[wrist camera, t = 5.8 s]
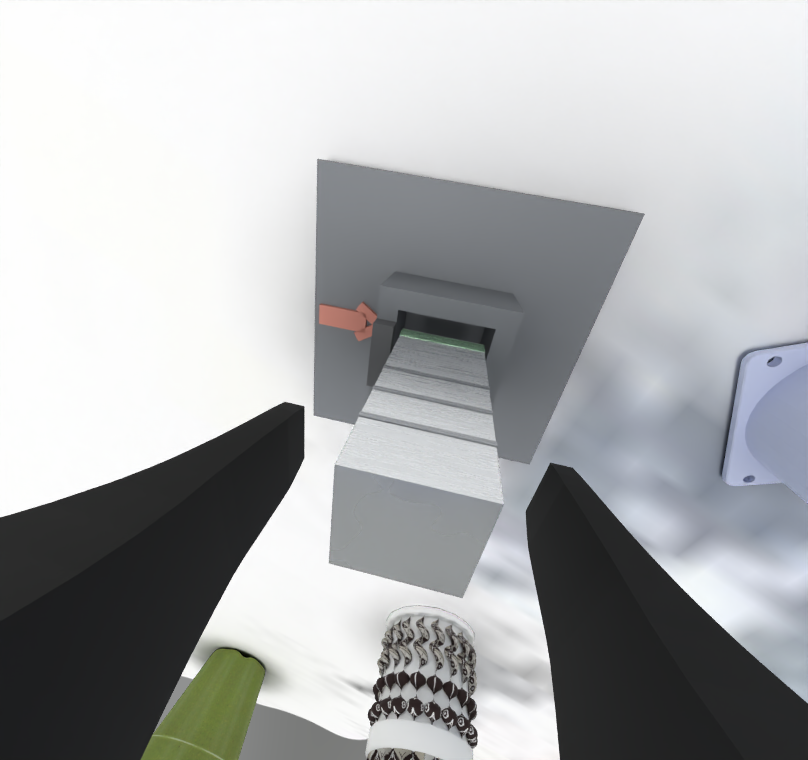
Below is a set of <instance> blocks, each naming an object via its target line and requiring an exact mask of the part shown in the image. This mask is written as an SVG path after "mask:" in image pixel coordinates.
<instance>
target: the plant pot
mask: <svg viewBox="0 0 808 760" xmlns="http://www.w3.org/2000/svg"><path fill="white" fill-rule="evenodd" d="M264 675H265V670H264V668H263V666H262V665H260V664H259V662H258V661H257V660H256V659H254V658H251V657H249V658H245V657H243V656H242V655H241V653H240V652H238V651H237V650H234V649H225V648H222V649H218V650H216V651H215V652H214V653H213V654H212V655H211V656H210V658H209V659H208V660H207V662H206V663H205V664H204V666H203V667H202V668H201V670H200V671H199V673H198V674H197V675H196V677H195V678H194V679H193V681H192V682H191V683H190V685H189V686H188V688H187V689H186V690H185V692H184V693H183V694H182V696H181V697H180V698H179V700H178V701H177V702H176V704H175V705H174V707H173V708H172V709H171V711H170V712H169V713H168V715H167V716H166V717H165V719H164V720H163V722H162V723H161V724H160V726H159V727H158V728H157V729H156V731H155V732H154V733H153V735H152V737H151V739H150V741H149V743H148V745H147V747H146V750H145V752H144V754H143V756H142V758H141V760H238V759H239V755H240V752H241V749H242V745H243V742H244V739H245V736H246V733H247V729H248V726H249V723H250V720H251V717H252V714H253V710H254V707H255V704H256V701H257V698H258V694H259V691H260V688H261V685H262V682H263V678H264Z"/></svg>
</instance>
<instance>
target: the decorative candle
mask: <svg viewBox="0 0 808 760" xmlns="http://www.w3.org/2000/svg"><path fill="white" fill-rule="evenodd" d="M386 626H387V631H386V633H385V637H386V638H384V639H382V645H383V647H384V649H383V652H382V653H381V658H380V659H379V660H378V663H377V664H378V667H379V669H380V670H379V673H380V675H381V678H379V679H378V680H377V682H376V684H375V685H374V687H373V692H374V694H375V699H376V701H377V702H375V703H374V704H373V705H372V708H371V709H370V710H369V712H368V718H369V720H370V725H371V727H370V731H369V736H368V742H367V747H366V753H365V754H366V757H367V760H473V748H475V747H476V746H477V742H478V741H477V730H476V729H475V727H474V726H473V725H471V724H470V722H471V720H473V719H475V718H476V715H477V711H476V708H477V705H476V703H475V701H474V700H473V699H471V698H470V696H471V695H472V694H473V693H474V692H475V690H476V686H477V682H476V679H477V678H476V673H475V671H474V668H475V665H476V653H475V651H474V649H473V647H474V632H473V631H472V629H471V628H470V626H469V625H468V623H466V622H465V621H463V620H462V619H461V618H459V617H458V616H456V615H455V614H452V613H449V612H447V611H444V610H441V609H438V608H433V607H425V606H410V607H402V608H400V609H398V610H396V611H394V612H392V613H391V614H390V616H389V617H388V619H387V621H386Z"/></svg>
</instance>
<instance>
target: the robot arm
mask: <svg viewBox="0 0 808 760" xmlns="http://www.w3.org/2000/svg"><path fill="white" fill-rule="evenodd" d="M772 357H775V358H774V359H773V360H772V361H771V362H769V363H767V362H768V360H769V359H771V358H772ZM303 460H304V406H300V405H296V404H292V403H287V402H284V403H282V404H280V405H277V406H276V407H274V408H272V409H270V410H268V411H266V412H264V413H262V414H260V415H258V416H257V417H255V418H253V419H251V420H249V421H247V422H245V423H243V424H241V425H240V426H238V427H236V428H234V429H232V430H230V431H228V432H226V433H224V434H222V435H220V436H218V437H216V438H214V439H212V440H210V441H208V442H206V443H204V444H201V445H199V446H197V447H195V448H193V449H191V450H189V451H187V452H184V453H182V454H180V455H178V456H176V457H174V458H171V459H169V460H167V461H164V462H162V463H160V464H157V465H155V466H152V467H150V468H147V469H145V470H142V471H140V472H137V473H135V474H132V475H129V476H127V477H124V478H122V479H119V480H116V481H114V482H111V483H108V484H105V485H102V486H99V487H96V488H93V489H90V490H87V491H84V492H81V493H78V494H75V495H72V496H69V497H66V498H63V499H60V500H57V501H54V502H51V503H48V504H45V505H41V506H38V507H35V508H31V509H28V510H25V511H21V512H18V513H15V514H11V515H8V516H4V517H0V760H141V758H142V756H143V754H144V752H145V750H146V747H147V745H148V743H149V741H150V739H151V737H152V735H153V732H154V730H155V728H156V726H157V724H158V722H159V719H160V717H161V715H162V713H163V711H164V709H165V707H166V705H167V703H168V701H169V699H170V697H171V695H172V693H173V691H174V689H175V687H176V685H177V682H178V681H179V678H180V676H181V674H182V672H183V670H184V668H185V666H186V664H187V662H188V660H189V658H190V656H191V654H192V652H193V650H194V649H195V647H196V645H197V643H198V641H199V639H200V637H201V635H202V633H203V631H204V629H205V627H206V625H207V623H208V621H209V619H210V618H211V616H212V614H213V612H214V610H215V608H216V606H217V604H218V603H219V601H220V599H221V597H222V595H223V593H224V591H225V590H226V588H227V586H228V584H229V582H230V580H231V578H232V577H233V575H234V573H235V572H236V570H237V568H238V567H239V565H240V563H241V562H242V560H243V558H244V557H245V555H246V554H247V552H248V551H249V549H250V548H251V546H252V545H253V543H254V542H255V540H256V539H257V537H258V536H259V534H260V533H261V531H262V530H263V528H264V527H265V525H266V524H267V522H268V520H269V519H270V517H271V516H272V514H273V513H274V511H275V510H276V508H277V507H278V505H279V504H280V502H281V501H282V499H283V498H284V496H285V494H286V493H287V491H288V490H289V488H290V486H291V484H292V482H293V480H294V478H295V476H296V474H297V472H298V470H299V468H300V466H301V464H302V462H303ZM722 479H723V480H724V481H725V482H726V483H727V484H728V485H731V486H744V485H759V484H773V483H784V484H785V485H786V486H787V487H789V488H790V489H791V490H792V491H793V492H794V493H795V494H797V495H798V496H799V497H800V498H801V499H802V500H803V501H805V502H806V503H807V504H808V343H802V344H796V345H790V346H783V347H777V348H771V349H765V350H758V351H754V352H751V353H749V354H747V355H746V356H745V357H744V358H743V359H742V362H741V366H740V372H739V378H738V384H737V390H736V395H735V401H734V407H733V413H732V419H731V425H730V431H729V437H728V443H727V449H726V455H725V460H724V466H723V472H722ZM526 525H527V539H528V549H529V554H530V560H531V565H532V570H533V575H534V580H535V585H536V590H537V595H538V600H539V605H540V610H541V615H542V620H543V625H544V630H545V634H546V640H547V646H548V652H549V658H550V665H551V674H552V683H553V692H554V701H555V710H556V720H557V731H558V742H559V753H560V760H808V703H806V702H805V701H804V700H803V699H802V698H801V697H800V696H798V695H797V694H796V693H795V692H794V691H793V690H791V689H790V688H789V687H788V686H787V685H786V684H785V683H783V682H782V681H781V680H780V679H779V678H778V677H776V676H775V675H774V674H773V673H772V672H771V671H770V670H768V669H767V668H766V667H765V666H764V665H763V664H762V663H760V662H759V661H758V660H757V659H756V658H755V657H754V656H753V655H752V654H750V653H749V652H748V651H747V650H746V649H745V648H744V647H743V646H742V645H740V644H739V643H738V642H737V641H736V640H735V639H734V638H733V637H732V636H731V635H730V634H729V633H728V632H727V631H725V630H724V629H723V628H722V627H721V626H720V625H719V624H718V623H717V622H716V621H715V620H714V619H713V618H712V617H711V616H710V615H709V614H708V613H706V612H705V611H704V610H703V609H702V608H701V607H700V606H699V605H698V604H697V603H696V602H695V601H694V600H693V599H692V598H691V597H690V596H689V595H688V594H687V593H686V592H685V591H684V590H683V589H682V588H681V587H680V586H679V585H678V584H677V583H676V582H675V581H674V580H673V579H672V578H671V577H670V576H669V575H668V574H667V572H666V571H665V570H664V569H663V568H662V567H661V566H660V565H659V564H658V563H657V562H656V561H655V560H654V559H653V558H652V557H651V556H650V555H649V553H648V552H647V551H646V550H645V549H644V548H643V547H642V546H641V545H640V544H639V543H638V541H637V540H636V539H635V538H634V537H633V536H632V535H631V534H630V533H629V531H628V530H627V529H626V528H625V527H624V526H623V525H622V523H621V522H620V521H619V520H618V519H617V518H616V517H615V515H614V514H613V513H612V512H611V511H610V510H609V508H608V507H607V506H606V505H605V504H604V503H603V502H602V500H601V499H600V498H599V497H598V496H597V495H596V493H595V492H594V491H593V490H592V489H591V488H590V486H589V485H588V484H587V483H586V482H585V481H584V480H583V478H582V477H581V476H580V475H579V474H578V473H577V472H576V471H575V470H574V469H573V468H571V467H567V466H562V465H558V464H554V463H550V465H549V467H548V469H547V471H546V473H545V475H544V477H543V478H542V480H541V482H540V484H539V486H538V488H537V490H536V492H535V494H534V496H533V498H532V500H531V502H530V504H529V506H528V508H527V510H526Z"/></svg>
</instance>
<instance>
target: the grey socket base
mask: <svg viewBox="0 0 808 760" xmlns="http://www.w3.org/2000/svg"><path fill="white" fill-rule="evenodd" d="M643 216H644V214H643V213H637V212H631V211H625V210H619V209H613V208H607V207H601V206H595V205H589V204H583V203H577V202H571V201H565V200H559V199H553V198H547V197H541V196H535V195H529V194H523V193H518V192H512V191H506V190H500V189H494V188H488V187H482V186H476V185H470V184H464V183H458V182H452V181H446V180H440V179H434V178H428V177H422V176H416V175H410V174H404V173H398V172H392V171H386V170H380V169H374V168H368V167H362V166H356V165H350V164H344V163H338V162H332V161H326V160H321V159H317V224H316V291H315V359H314V416H319V417H323V418H328V419H332V420H336V421H341V422H345V423H350V424H354V425H355V423H356V421H357V419H358V415H359V413H360V411H362V409H363V407H364V405H365V403H366V401H367V399H368V397H369V395H370V393H371V391H372V387H373V385H375V384H376V382H377V380H378V378H379V376H380V374H381V372H382V369H383V366H384V365H385V364H386V362H387V360H388V358H389V356H390V354H391V352H392V350H393V348H394V346H395V344H396V342H397V340H398V338H399V335H400V332H401V331H402V329H403V328H404V329H409V330H414V331H419V332H424V333H429V334H434V335H439V336H444V337H448V338H453V339H458V340H463V341H468V342H473V343H478V344H483V345H484V347H485V360H486V368H487V376H488V384H489V387H490V399H491V407H492V411H493V414H494V415H493V423H494V431H495V439H496V441H497V444H498V447H497V454H498V457H499V458H504V459H508V460H512V461H517V462H521V463H526V464H530V462H531V460H532V458H533V455H534V453H535V451H536V449H537V447H538V445H539V442H540V440H541V438H542V436H543V434H544V432H545V429H546V427H547V425H548V423H549V421H550V419H551V416H552V414H553V412H554V410H555V408H556V405H557V403H558V401H559V399H560V397H561V395H562V392H563V390H564V388H565V386H566V384H567V382H568V379H569V377H570V375H571V373H572V371H573V369H574V366H575V364H576V362H577V360H578V358H579V355H580V353H581V351H582V349H583V347H584V345H585V342H586V340H587V338H588V336H589V334H590V332H591V329H592V327H593V325H594V323H595V321H596V319H597V316H598V314H599V312H600V310H601V308H602V305H603V303H604V301H605V299H606V297H607V295H608V292H609V290H610V288H611V286H612V284H613V282H614V279H615V277H616V275H617V273H618V271H619V269H620V266H621V264H622V262H623V260H624V258H625V256H626V253H627V251H628V249H629V247H630V245H631V242H632V240H633V238H634V236H635V234H636V232H637V229H638V227H639V225H640V223H641V221H642V219H643Z"/></svg>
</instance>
